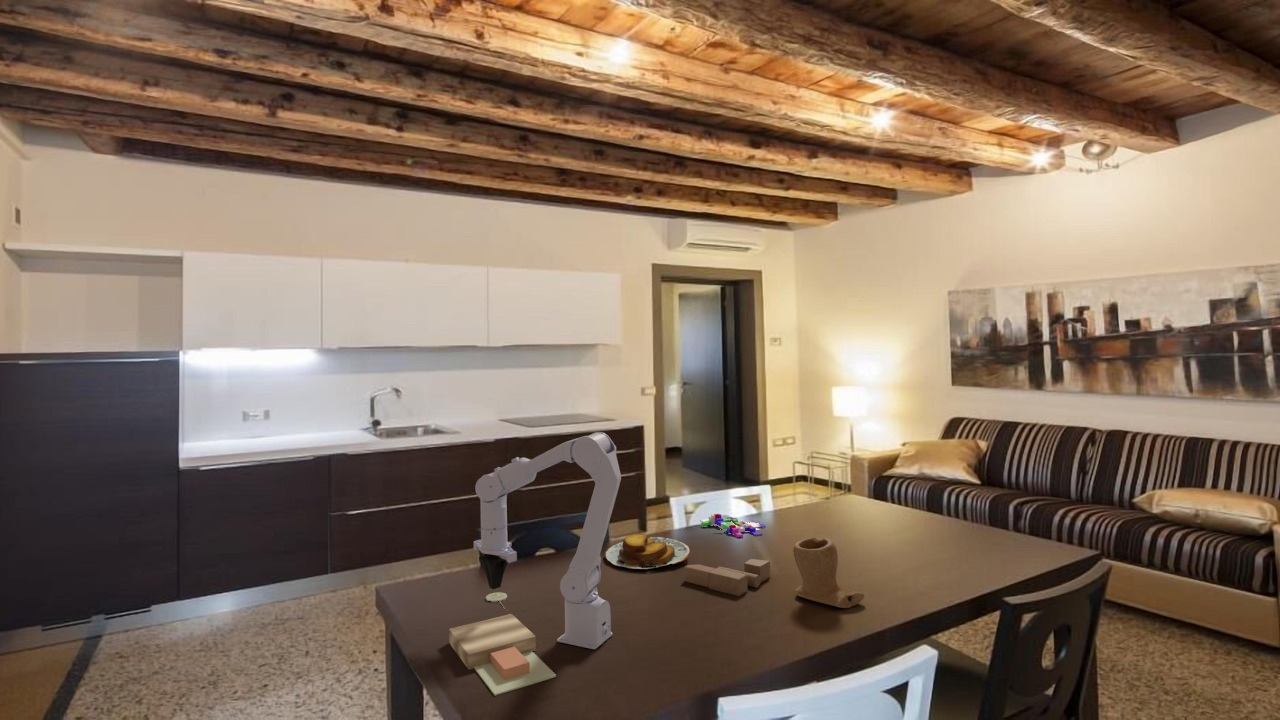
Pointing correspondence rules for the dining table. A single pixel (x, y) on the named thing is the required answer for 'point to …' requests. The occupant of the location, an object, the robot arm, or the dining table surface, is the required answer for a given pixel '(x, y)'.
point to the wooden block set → (729, 576)
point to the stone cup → (822, 574)
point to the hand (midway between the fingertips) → (495, 587)
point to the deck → (490, 639)
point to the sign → (496, 597)
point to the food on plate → (647, 552)
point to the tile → (509, 663)
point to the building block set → (732, 528)
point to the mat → (502, 686)
